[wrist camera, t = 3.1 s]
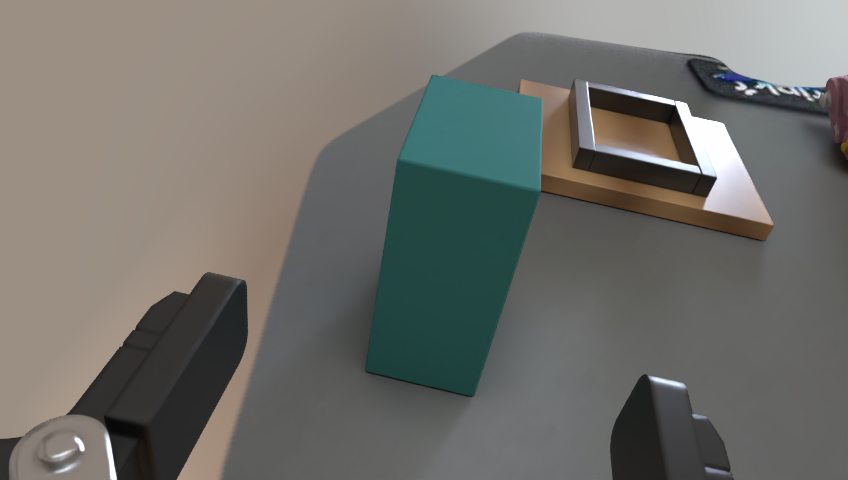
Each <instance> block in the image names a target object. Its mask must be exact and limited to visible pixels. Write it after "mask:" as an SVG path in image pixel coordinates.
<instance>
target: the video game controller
mask: <svg viewBox="0 0 848 480" xmlns="http://www.w3.org/2000/svg"><path fill="white" fill-rule="evenodd" d="M819 103H820V104H821V106H822V107H823V108H825V106H826V105H827V110H828V113H829V116H830V120H831V129H832V135H833V139H834V141H835V143H837V144H838V143H842V145H841V150H842V152H844V154H845V157H846V159H847V160H848V75H845V76H840V77H835V78H830V79H829V80H828V81H827V84H826V91H825V94H824V93H821V95H820V98H819Z"/></svg>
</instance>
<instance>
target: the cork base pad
mask: <svg viewBox="0 0 848 480" xmlns="http://www.w3.org/2000/svg"><path fill="white" fill-rule="evenodd" d="M517 93H519V94H524V95H528V96H533V97H538V98H542V99H543V122H542V161H541V191H545V192H550V193H554V194H558V195H563V196H567V197H572V198H576V199H581V200H585V201H590V202H594V203H599V204H603V205H607V206H612V207H616V208H621V209H625V210H630V211H634V212H639V213H643V214H648V215H652V216H656V217H661V218H665V219H670V220H674V221H679V222H683V223H688V224H692V225H697V226H701V227H705V228H710V229H714V230H719V231H723V232H728V233H732V234H737V235H741V236H745V237H750V238H754V239H759V240H763V241H765V240H766V238H767V237H768V235H769V234H770V232H771V230H772V229H773V227H774V224H773V222H772V220H771V218H770V216H769V214H768V212H767V210H766V208H765V206H764V204H763V202H762V200H761V198H760V196H759V194H758V192H757V190H756V188H755V186H754V184H753V182H752V180H751V178H750V176H749V174H748V172H747V170H746V168H745V166H744V164H743V162H742V160H741V158H740V156H739V154H738V152H737V150H736V148H735V146H734V144H733V142H732V140H731V138H730V136H729V134H728V132H727V130H726V128H725V126H724V124H723V123H719V122H714V121H710V120H705V119H700V118H696V117H692V116H691V114H690V111H689V109H688V106H687V104H686V103H682V102H678V101H673V100H669V99H665V98H660V97H656V96H651V95H646V94H642V93H637V92H633V91H628V90H624V89H619V88H614V87H610V86H605V85H601V84H596V83H591V82H587V81H582V80H578V79H574V81H573V84H572V87H571V90H568V89H563V88H559V87H554V86H549V85H545V84H540V83H536V82H531V81H527V80H522V79H521V80H520V83H519V87H518V91H517Z"/></svg>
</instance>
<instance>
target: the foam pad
mask: <svg viewBox="0 0 848 480" xmlns="http://www.w3.org/2000/svg"><path fill="white" fill-rule="evenodd" d="M542 122H543V99H542V98H538V97H533V96H528V95H524V94H519V93H515V92H510V91H506V90H501V89H497V88H492V87H487V86H483V85H478V84H474V83H469V82H465V81H460V80H456V79H451V78H446V77H442V76H437V75H432V76H431V78H430V81H429V83H428V85H427V88H426V90H425V93H424V95H423V98H422V100H421V103H420V105H419V108H418V110H417V112H416V115H415V117H414V120H413V122H412V125H411V127H410V130H409V132H408V135H407V137H406V140H405V142H404V144H403V147H402V149H401V152H400V154H399V157H398V159H397V165H396V171H395V178H394V184H393V191H392V197H391V204H390V211H389V217H388V224H387V230H386V237H385V243H384V250H383V256H382V263H381V269H380V276H379V283H378V289H377V296H376V302H375V309H374V315H373V322H372V328H371V335H370V341H369V348H368V355H367V361H366V368H365V369H366V371H367V372H371V373H375V374H379V375H384V376H388V377H392V378H396V379H401V380H405V381H409V382H413V383H417V384H422V385H426V386H430V387H434V388H438V389H443V390H447V391H451V392H455V393H460V394H464V395H468V396H474V394H475V391H476V388H477V385H478V382H479V379H480V376H481V373H482V370H483V367H484V364H485V361H486V358H487V355H488V352H489V349H490V346H491V342H492V339H493V336H494V333H495V330H496V327H497V324H498V321H499V318H500V315H501V312H502V309H503V306H504V303H505V300H506V297H507V294H508V291H509V287H510V284H511V281H512V278H513V275H514V272H515V269H516V266H517V263H518V260H519V257H520V254H521V251H522V248H523V245H524V242H525V239H526V235H527V232H528V229H529V226H530V223H531V220H532V217H533V214H534V211H535V208H536V205H537V202H538V199H539V196H540V193H541V161H542Z"/></svg>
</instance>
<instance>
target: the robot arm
mask: <svg viewBox="0 0 848 480" xmlns="http://www.w3.org/2000/svg"><path fill="white" fill-rule="evenodd" d="M247 336H248V318H247V285H246V282H245V281H244V280H241V279H237V278H232V277H228V276H223V275H219V274H215V273H211V272H207V273H205V274H204V275H203V276H202V278H201V279H200V280H199V282H198V283H197V285H196V286H195V287H194V289H193V290H192V292H191V293H190V294H185V293H180V292H176V291H174V292H173V293H171V294H170V295H168V296H167V297H165V298H163V299H162V300H160V301H159V302H157V303H156V304H154V305H153V306H151V307H150V309H149V310H148V311H147V313H146V314H145V315H144V316H143V318H142V319H141V320H140V322H139V323H138V324H137V326H136V329H135V330H133V331H132V332H131V333H130V335H129V336H128V337H127V338H126V340H125V341H124V342H123V346H122V347H119V349H118V350H117V351H116V353H115V354H114V355H113V357H112V358H111V359H110V361H109V362H108V363H107V364H106V366H105V367H104V368H103V370H102V371H101V372H100V373H99V375H98V376H97V377H96V379H95V380H94V381H93V383H92V384H91V385H90V386H89V388H88V389H87V390H86V392H85V393H84V394H83V395H82V397H81V398H80V399H79V401H78V402H77V403H76V405H75V406H74V407H73V408H72V409H71V410H70V412H69V413H68V414H66V415H65V416H60V417H56V418H53V419H50V420H48V421H45V422H43V423H41V424H40V425H38V426H36V427H34V428H33V429H32V430H31V431H29V432H28V433H26V434H25V435H24V436H23V437H18V438H9V439H0V480H176V479H177V478H178V476H179V474H180V472H181V470H182V468H183V467H184V465H185V463H186V461H187V459H188V457H189V455H190V453H191V452H192V450H193V448H194V446H195V444H196V443H197V441H198V439H199V437H200V435H201V433H202V431H203V429H204V428H205V426H206V424H207V422H208V420H209V418H210V416H211V415H212V413H213V411H214V409H215V407H216V405H217V404H218V402H219V400H220V398H221V396H222V394H223V393H224V391H225V389H226V387H227V385H228V383H229V381H230V380H231V378H232V376H233V374H234V372H235V370H236V369H237V367H238V365H239V363H240V361H241V359H242V356H243V353H244V350H245V347H246V342H247ZM610 454H611V465H612V477H613V480H734V479H733V475H732V473H730V469H731V468H730V464H729V460H728V456H727V453H726V449H725V445H724V442H723V440H722V439H721V437H720V436H719V434H718V433H717V431H716V430H715V428H714V427H713V425H712V424H711V422H710V421H709V419H708V418H707V417H705V416H701V415H697V414H693V413H692V408H691V404H690V400H689V395H688V391H687V388H686V386H685V385H684V384H683V383H680V382H675V381H671V380H667V379H662V378H658V377H654V376H649V375H642V376H641V377H640V378H639V380H638V382H637V383H636V385H635V387H634V389H633V391H632V392H631V394H630V396H629V398H628V400H627V401H626V403H625V405H624V407H623V409H622V410H621V412H620V414H619V416H618V418H617V419H616V422H615V424H614V427H613V431H612V435H611V443H610Z"/></svg>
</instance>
